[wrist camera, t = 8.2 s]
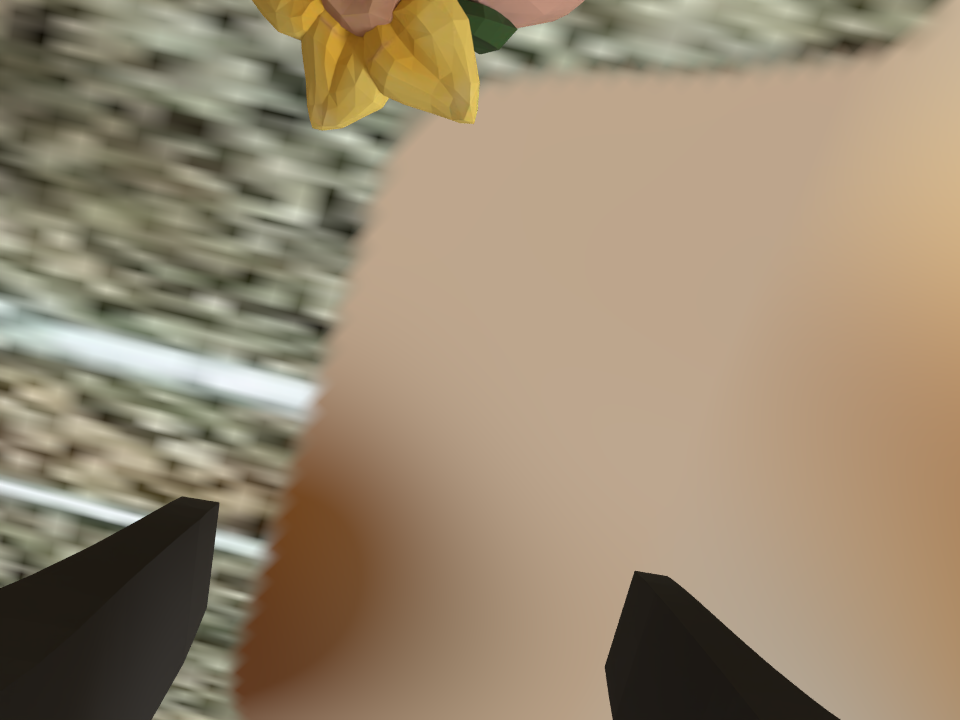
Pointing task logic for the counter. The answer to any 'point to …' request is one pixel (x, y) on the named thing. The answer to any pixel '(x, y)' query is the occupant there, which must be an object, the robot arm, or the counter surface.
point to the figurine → (399, 51)
